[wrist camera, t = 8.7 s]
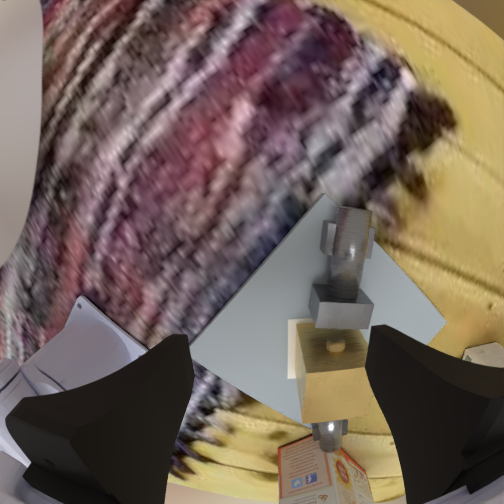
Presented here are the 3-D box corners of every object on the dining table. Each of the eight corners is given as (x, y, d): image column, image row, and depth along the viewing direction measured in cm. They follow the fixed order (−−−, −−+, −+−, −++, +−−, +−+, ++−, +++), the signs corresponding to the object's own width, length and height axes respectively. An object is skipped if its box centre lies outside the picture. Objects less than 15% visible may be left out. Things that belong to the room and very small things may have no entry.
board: (321, 428, 24) (322, 435, 24) (186, 347, 22) (184, 353, 22) (442, 318, 21) (447, 322, 20) (322, 193, 19) (325, 193, 18)
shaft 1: (354, 309, 20) (368, 329, 17) (308, 306, 20) (315, 328, 17) (371, 209, 18) (390, 215, 15) (322, 203, 19) (333, 207, 15)
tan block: (346, 369, 22) (366, 419, 16) (294, 374, 22) (302, 427, 16) (353, 314, 20) (381, 359, 14) (295, 319, 20) (306, 367, 15)
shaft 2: (304, 384, 22) (309, 410, 19) (346, 376, 22) (355, 400, 19) (310, 436, 24) (313, 459, 21) (345, 429, 24) (352, 451, 20)
